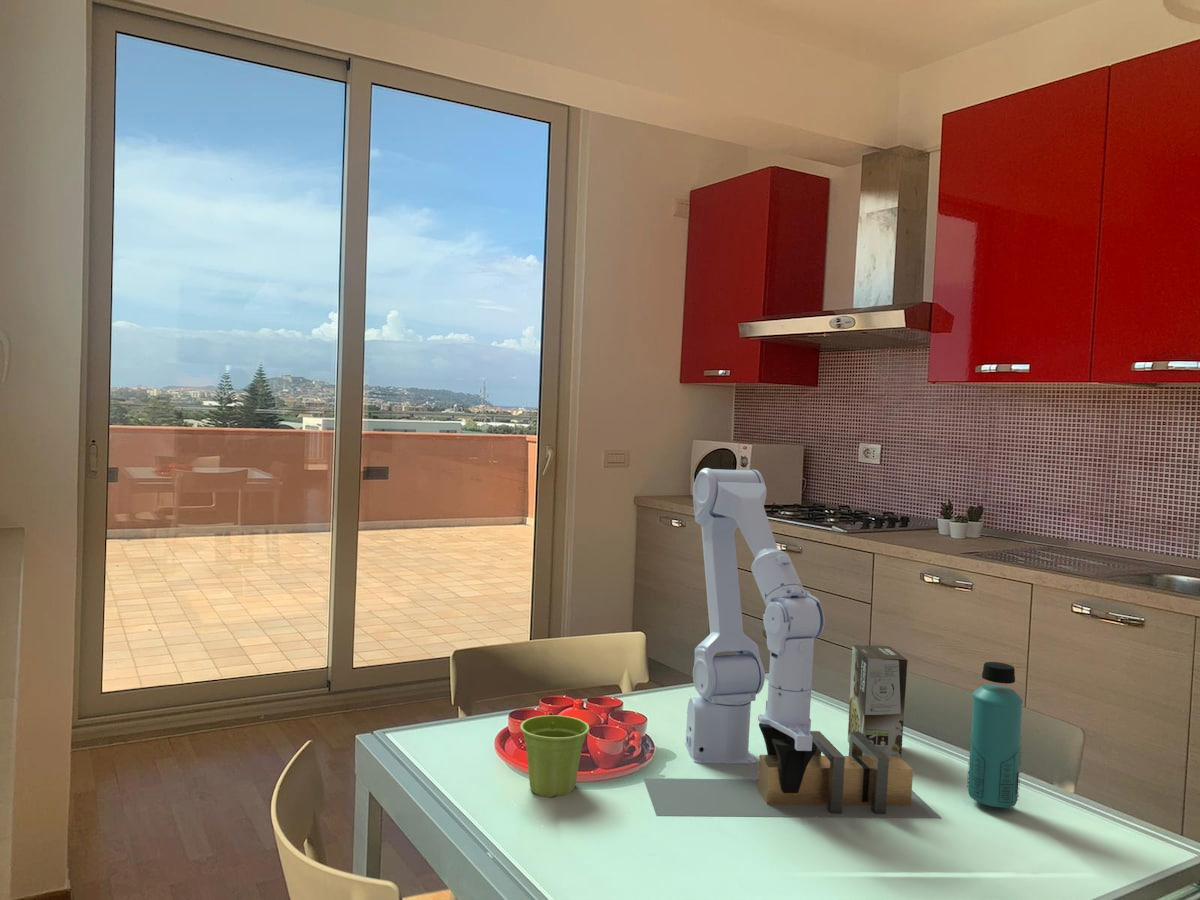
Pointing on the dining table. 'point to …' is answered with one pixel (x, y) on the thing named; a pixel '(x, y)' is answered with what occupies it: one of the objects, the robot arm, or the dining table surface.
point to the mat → (753, 801)
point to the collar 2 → (879, 772)
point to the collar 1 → (831, 771)
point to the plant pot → (553, 752)
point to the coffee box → (878, 696)
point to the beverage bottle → (995, 739)
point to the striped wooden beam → (854, 784)
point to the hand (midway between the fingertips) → (784, 784)
